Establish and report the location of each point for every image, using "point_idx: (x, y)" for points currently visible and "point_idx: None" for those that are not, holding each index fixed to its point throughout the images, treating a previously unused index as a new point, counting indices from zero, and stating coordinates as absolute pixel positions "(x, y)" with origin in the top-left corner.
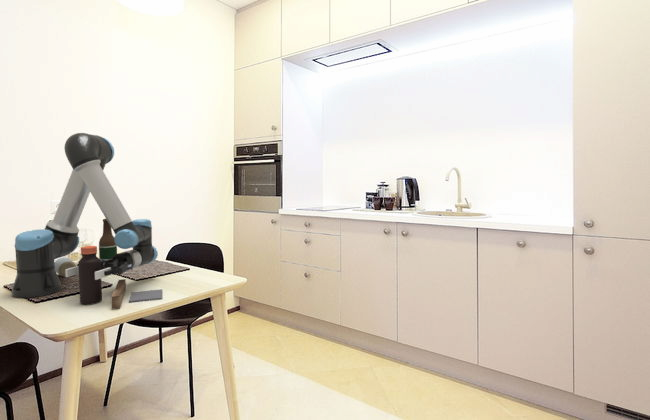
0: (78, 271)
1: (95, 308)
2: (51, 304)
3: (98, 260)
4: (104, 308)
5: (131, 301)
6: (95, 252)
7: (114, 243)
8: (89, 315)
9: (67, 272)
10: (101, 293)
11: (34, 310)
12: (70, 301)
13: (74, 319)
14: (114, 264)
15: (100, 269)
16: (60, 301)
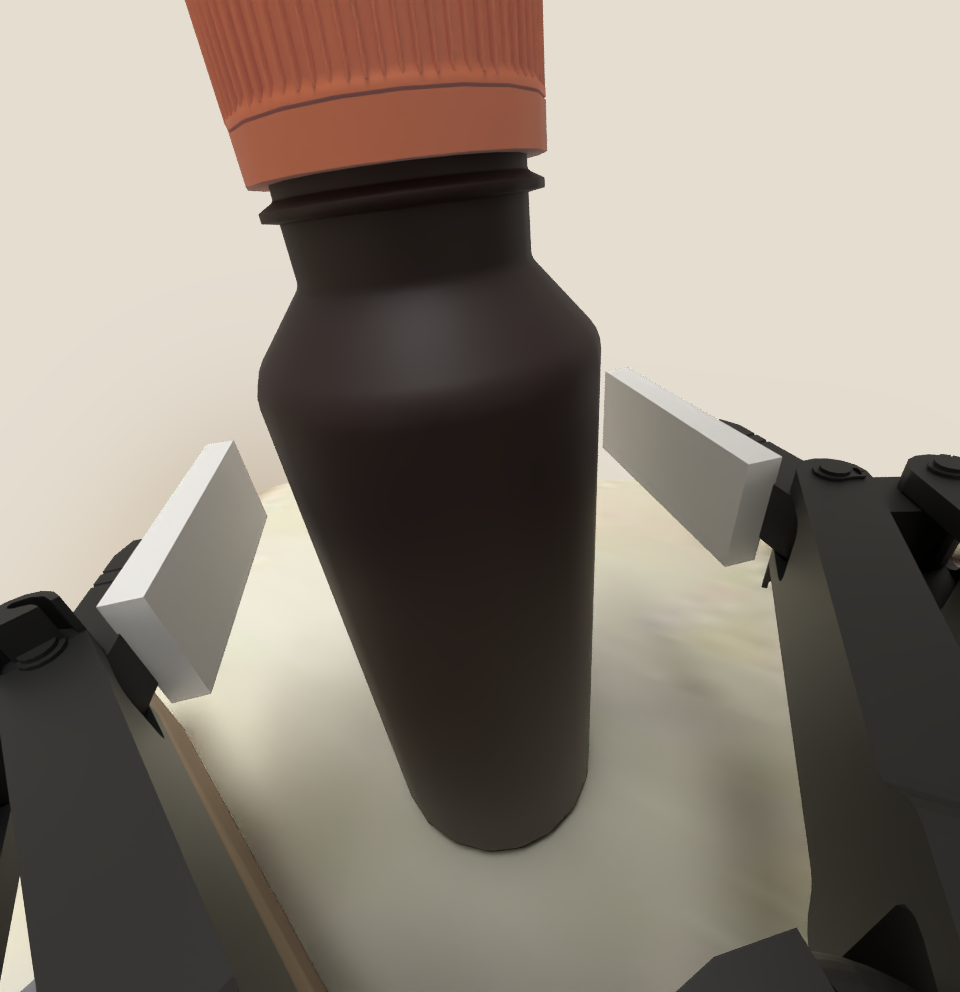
0: (682, 492)
1: (327, 679)
2: (680, 582)
3: (261, 374)
4: (257, 711)
5: (33, 989)
6: (241, 171)
7: None
8: (274, 604)
9: (604, 402)
10: (409, 778)
11: (624, 515)
12: (659, 668)
13: (313, 552)
14: (174, 931)
15: (323, 554)
16: (718, 633)
